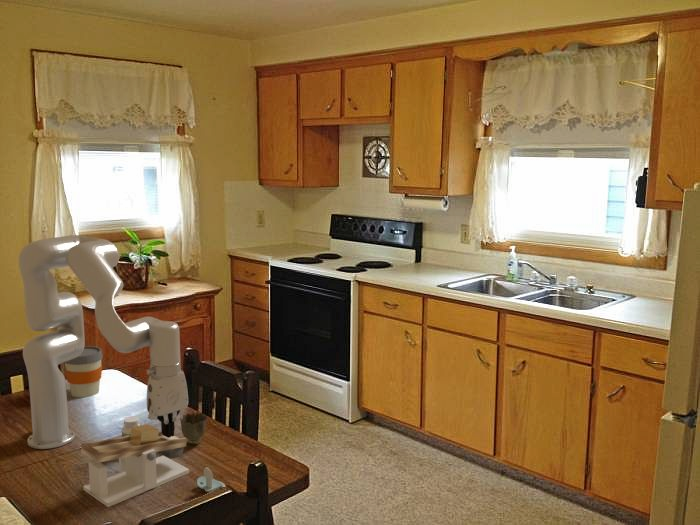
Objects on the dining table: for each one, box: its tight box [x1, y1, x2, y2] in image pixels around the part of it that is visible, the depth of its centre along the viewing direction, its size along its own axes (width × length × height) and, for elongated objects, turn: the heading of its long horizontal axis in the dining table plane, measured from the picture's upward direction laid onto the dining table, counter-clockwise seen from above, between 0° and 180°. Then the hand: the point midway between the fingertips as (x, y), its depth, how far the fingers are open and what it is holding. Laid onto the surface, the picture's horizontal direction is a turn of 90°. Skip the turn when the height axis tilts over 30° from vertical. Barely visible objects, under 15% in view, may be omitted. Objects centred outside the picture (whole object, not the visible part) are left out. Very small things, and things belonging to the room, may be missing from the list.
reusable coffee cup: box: [63, 345, 104, 398], centre depth 228 cm, size 13×13×15 cm
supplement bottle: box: [121, 416, 140, 437], centre depth 184 cm, size 5×5×10 cm
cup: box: [179, 412, 208, 446], centre depth 190 cm, size 8×7×8 cm
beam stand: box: [82, 436, 190, 508], centre depth 168 cm, size 23×14×10 cm, turn 139°
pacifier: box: [196, 466, 226, 493], centre depth 165 cm, size 7×6×6 cm
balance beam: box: [80, 430, 188, 463], centre depth 167 cm, size 25×8×5 cm, turn 139°
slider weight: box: [129, 423, 160, 446], centre depth 169 cm, size 5×5×4 cm
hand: (168, 435), depth 174 cm, fingers closed
